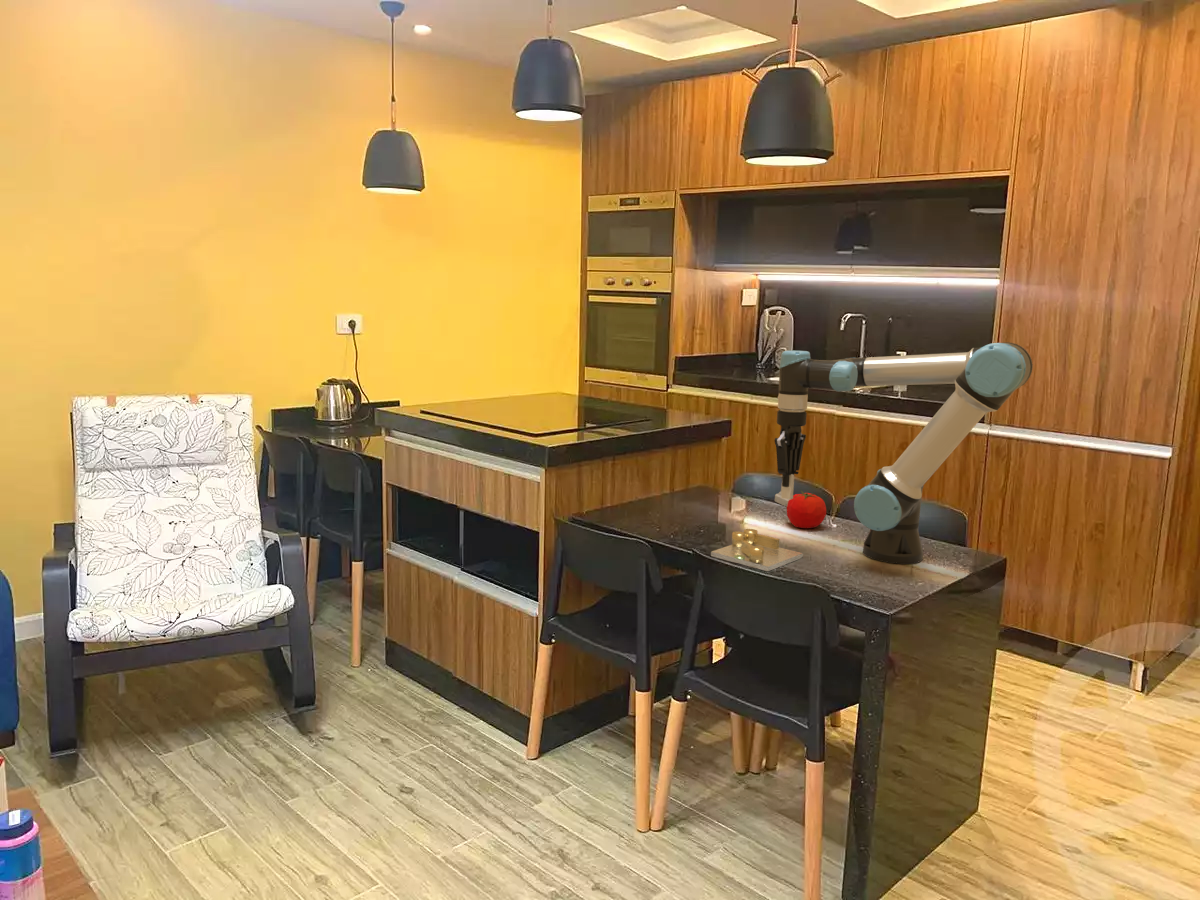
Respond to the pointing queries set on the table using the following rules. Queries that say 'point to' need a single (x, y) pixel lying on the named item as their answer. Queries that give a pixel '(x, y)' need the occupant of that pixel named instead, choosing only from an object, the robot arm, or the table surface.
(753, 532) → the gold block
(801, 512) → the tomato
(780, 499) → the grey post stand
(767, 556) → the plate
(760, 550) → the gold piece
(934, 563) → the table surface
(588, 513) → the table surface
